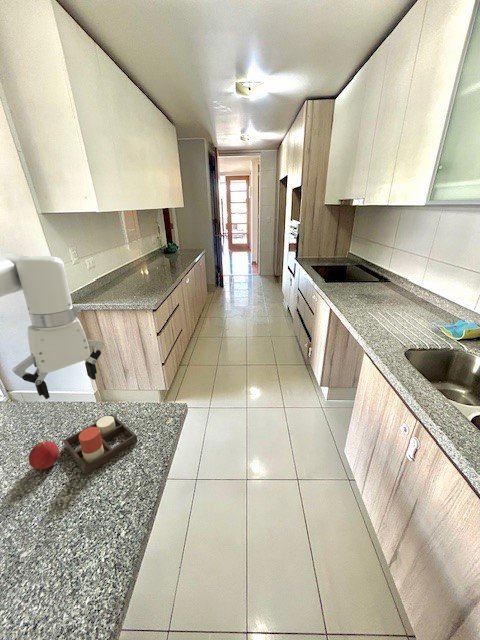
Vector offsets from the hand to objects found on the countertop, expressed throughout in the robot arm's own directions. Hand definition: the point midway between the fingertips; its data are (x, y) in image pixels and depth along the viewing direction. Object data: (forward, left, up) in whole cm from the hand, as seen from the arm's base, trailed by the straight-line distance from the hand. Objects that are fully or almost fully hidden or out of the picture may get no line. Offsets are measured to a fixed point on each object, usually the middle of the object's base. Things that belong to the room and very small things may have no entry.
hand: (70, 386), depth 60 cm
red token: (+4, 0, -16) cm, 16 cm away
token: (-2, +6, -20) cm, 21 cm away
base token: (+4, 0, -20) cm, 20 cm away
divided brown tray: (+1, +3, -21) cm, 21 cm away
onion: (-3, -8, -21) cm, 22 cm away
